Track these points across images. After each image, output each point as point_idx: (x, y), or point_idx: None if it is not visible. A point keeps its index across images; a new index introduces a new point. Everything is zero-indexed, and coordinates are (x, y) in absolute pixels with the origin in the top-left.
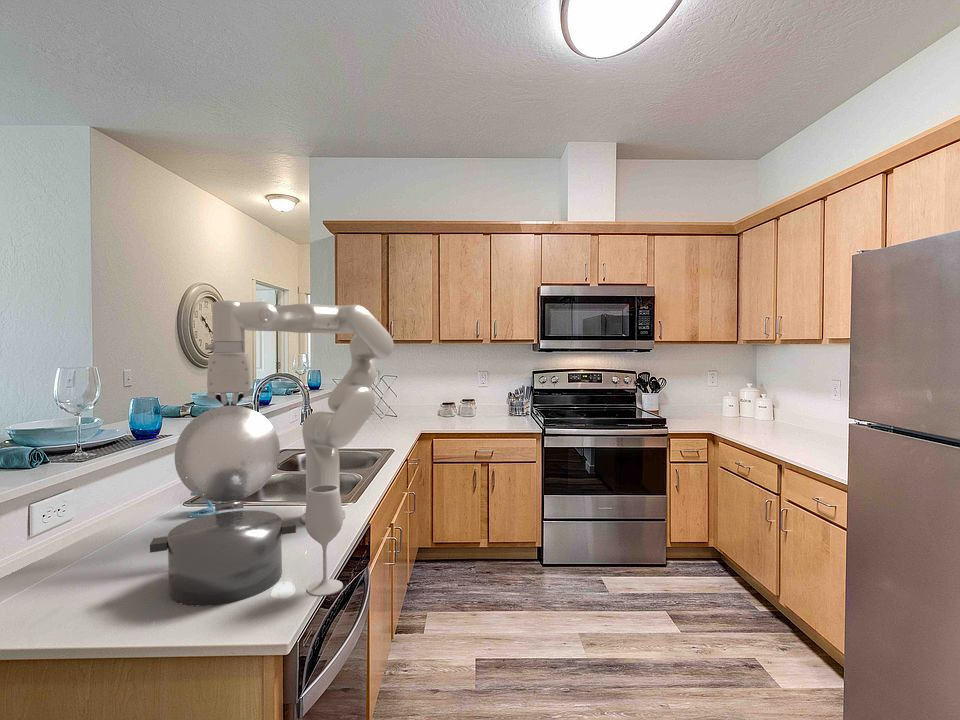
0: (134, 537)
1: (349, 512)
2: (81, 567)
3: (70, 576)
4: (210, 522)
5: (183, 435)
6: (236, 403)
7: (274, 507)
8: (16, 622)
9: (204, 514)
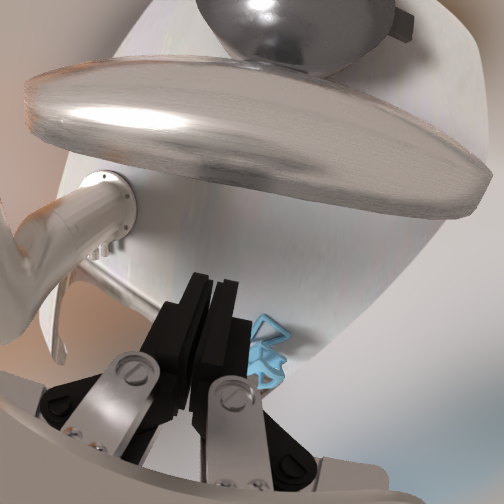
0: (369, 287)
1: None
2: None
3: None
4: (324, 17)
5: (473, 156)
6: (125, 356)
7: None
8: (481, 89)
9: (270, 323)
